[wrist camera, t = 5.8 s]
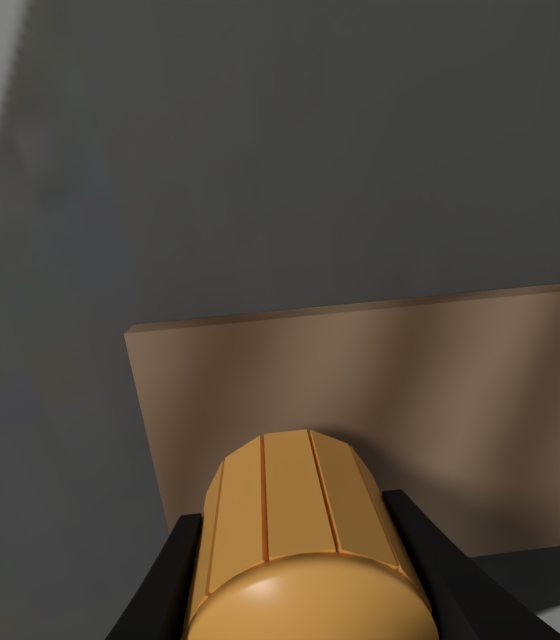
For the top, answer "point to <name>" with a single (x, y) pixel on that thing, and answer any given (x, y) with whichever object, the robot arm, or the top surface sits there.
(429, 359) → the post board
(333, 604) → the grooved orange cylinder
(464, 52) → the top surface
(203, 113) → the top surface
